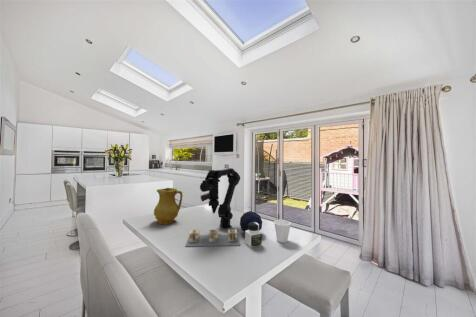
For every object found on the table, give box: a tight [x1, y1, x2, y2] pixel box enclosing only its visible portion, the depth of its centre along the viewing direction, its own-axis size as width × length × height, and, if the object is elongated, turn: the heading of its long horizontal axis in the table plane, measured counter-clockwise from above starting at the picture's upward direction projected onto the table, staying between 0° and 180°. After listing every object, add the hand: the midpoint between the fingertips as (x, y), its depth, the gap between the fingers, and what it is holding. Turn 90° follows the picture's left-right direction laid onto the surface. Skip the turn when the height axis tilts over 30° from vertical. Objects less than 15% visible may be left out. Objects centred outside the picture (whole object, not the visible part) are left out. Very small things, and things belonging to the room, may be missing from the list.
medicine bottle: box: [244, 222, 263, 248], centre depth 109 cm, size 7×7×12 cm
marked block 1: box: [188, 229, 200, 242], centre depth 111 cm, size 5×5×5 cm
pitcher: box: [153, 187, 183, 225], centre depth 143 cm, size 17×19×25 cm
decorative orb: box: [239, 210, 263, 234], centre depth 124 cm, size 14×15×15 cm
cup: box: [273, 219, 292, 244], centre depth 114 cm, size 10×10×11 cm
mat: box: [185, 234, 241, 248], centre depth 112 cm, size 30×14×1 cm, turn 95°
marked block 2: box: [227, 228, 238, 241], centre depth 113 cm, size 5×5×5 cm
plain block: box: [208, 229, 219, 242], centre depth 112 cm, size 5×5×5 cm
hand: (213, 213), depth 124 cm, fingers closed
